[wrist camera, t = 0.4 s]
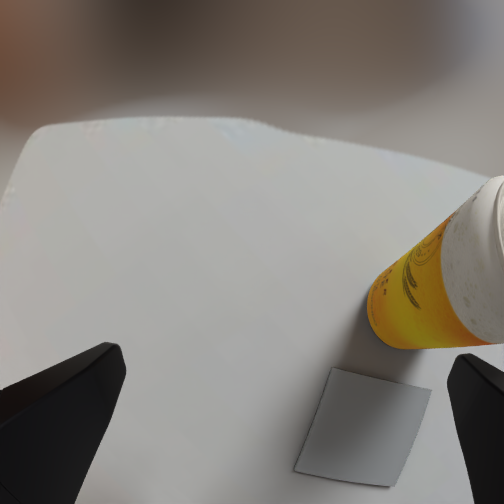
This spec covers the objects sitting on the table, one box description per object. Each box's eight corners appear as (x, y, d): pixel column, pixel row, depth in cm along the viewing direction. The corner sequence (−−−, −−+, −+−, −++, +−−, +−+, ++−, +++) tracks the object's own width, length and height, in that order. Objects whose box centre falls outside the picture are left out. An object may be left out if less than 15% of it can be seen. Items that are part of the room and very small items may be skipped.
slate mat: (392, 484, 17) (394, 486, 16) (294, 468, 18) (294, 470, 18) (429, 389, 19) (431, 389, 18) (331, 367, 20) (332, 367, 20)
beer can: (412, 253, 22) (535, 142, 8) (448, 321, 20) (602, 274, 6) (349, 292, 22) (454, 197, 7) (387, 365, 20) (538, 376, 6)
